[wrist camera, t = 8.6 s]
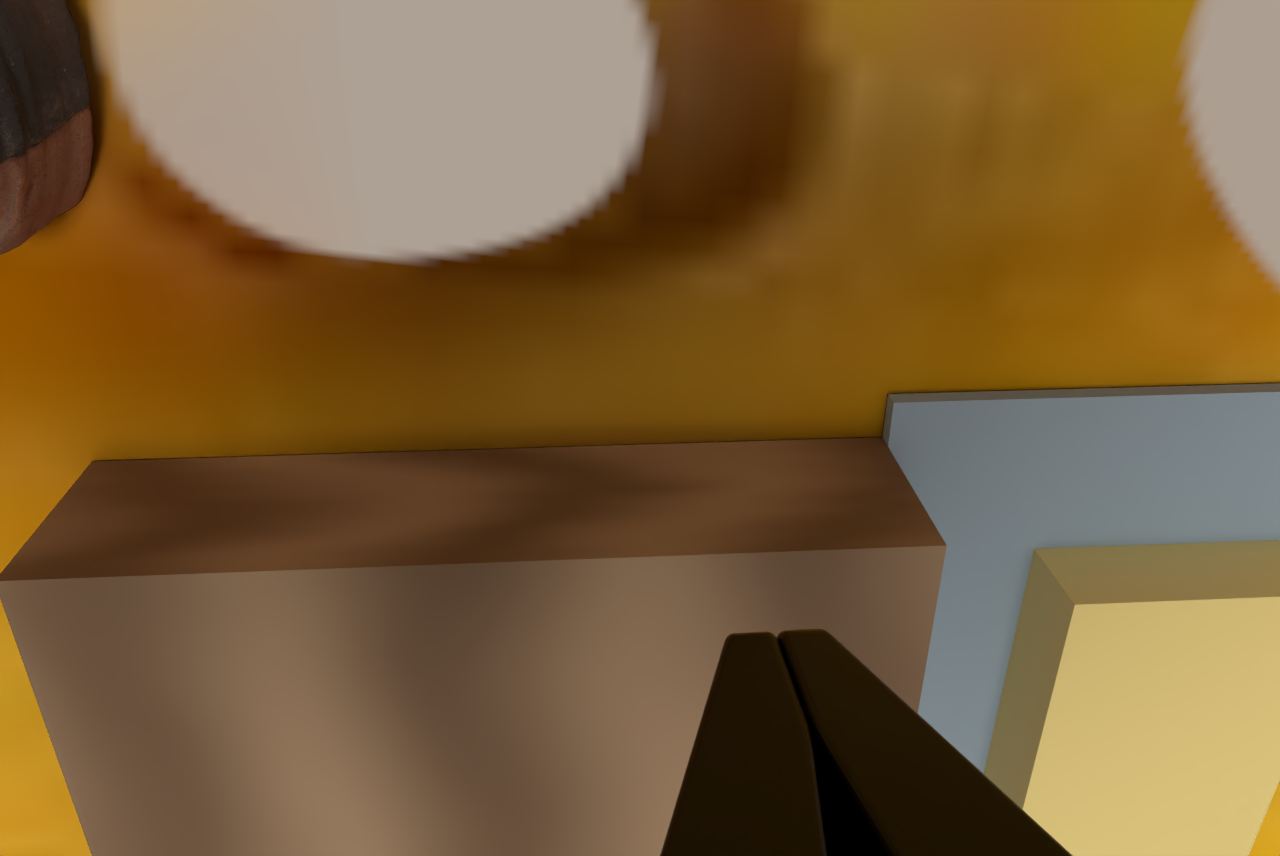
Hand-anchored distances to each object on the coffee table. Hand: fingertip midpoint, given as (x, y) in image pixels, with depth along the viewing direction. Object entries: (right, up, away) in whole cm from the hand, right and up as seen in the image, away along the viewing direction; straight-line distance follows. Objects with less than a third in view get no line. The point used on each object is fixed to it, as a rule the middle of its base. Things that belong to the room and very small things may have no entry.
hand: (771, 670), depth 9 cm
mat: (+9, -4, +16) cm, 19 cm away
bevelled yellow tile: (+11, -5, +14) cm, 19 cm away
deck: (-4, -5, +15) cm, 17 cm away
